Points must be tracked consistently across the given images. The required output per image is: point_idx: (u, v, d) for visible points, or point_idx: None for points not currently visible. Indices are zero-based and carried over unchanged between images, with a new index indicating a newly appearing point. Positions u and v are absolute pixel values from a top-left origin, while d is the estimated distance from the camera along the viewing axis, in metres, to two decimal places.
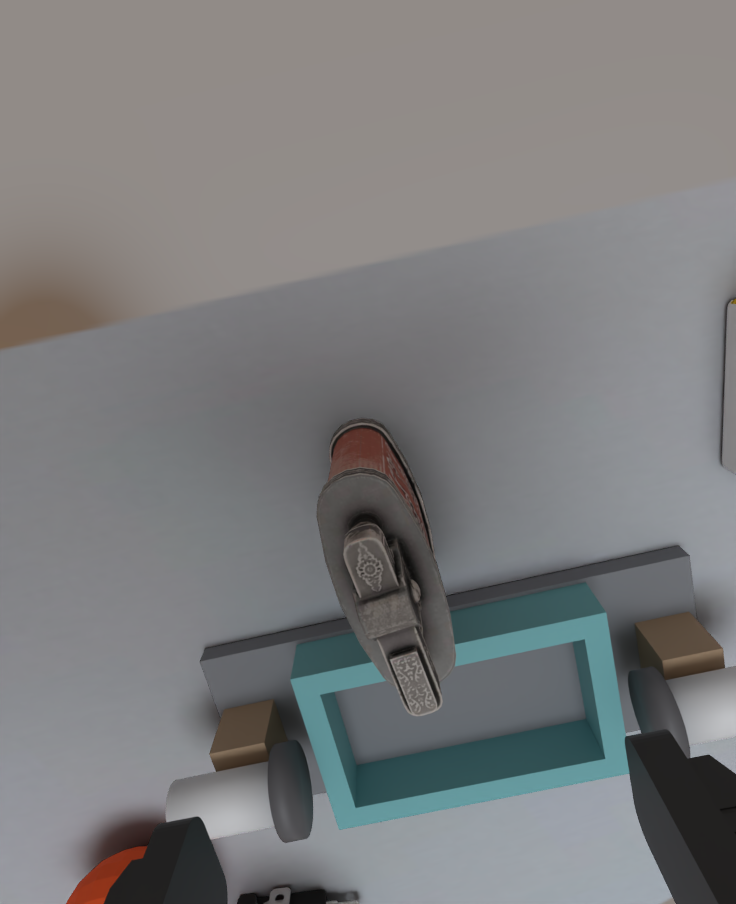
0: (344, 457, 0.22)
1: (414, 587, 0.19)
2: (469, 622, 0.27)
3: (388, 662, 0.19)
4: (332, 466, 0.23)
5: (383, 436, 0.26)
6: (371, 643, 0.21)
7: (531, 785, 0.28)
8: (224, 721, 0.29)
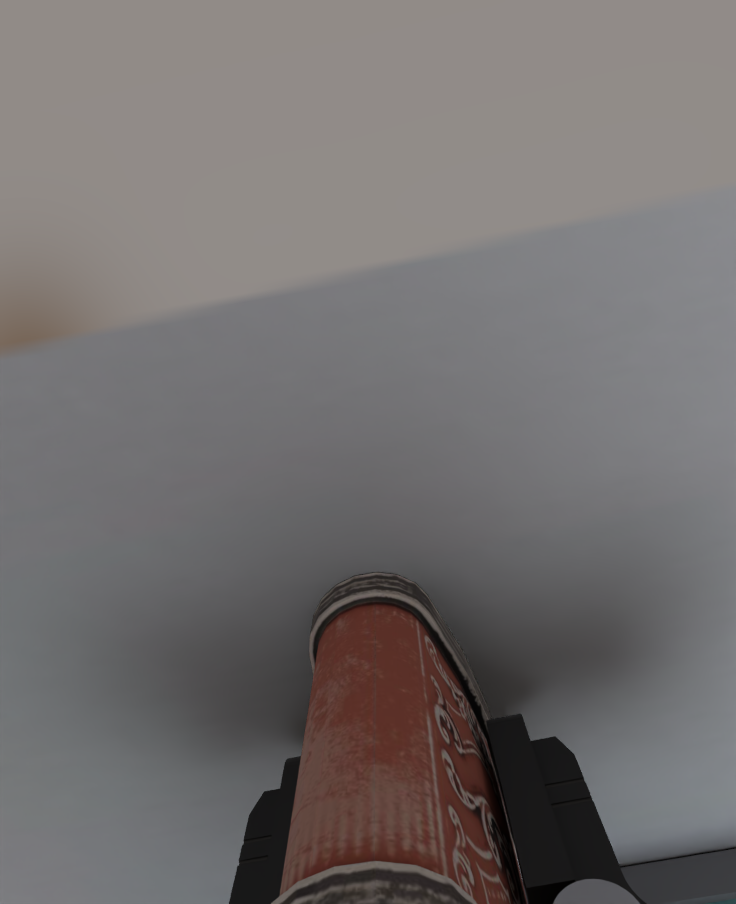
0: (335, 740, 0.09)
1: None
2: None
3: None
4: (307, 748, 0.10)
5: (420, 619, 0.13)
6: None
7: None
8: None
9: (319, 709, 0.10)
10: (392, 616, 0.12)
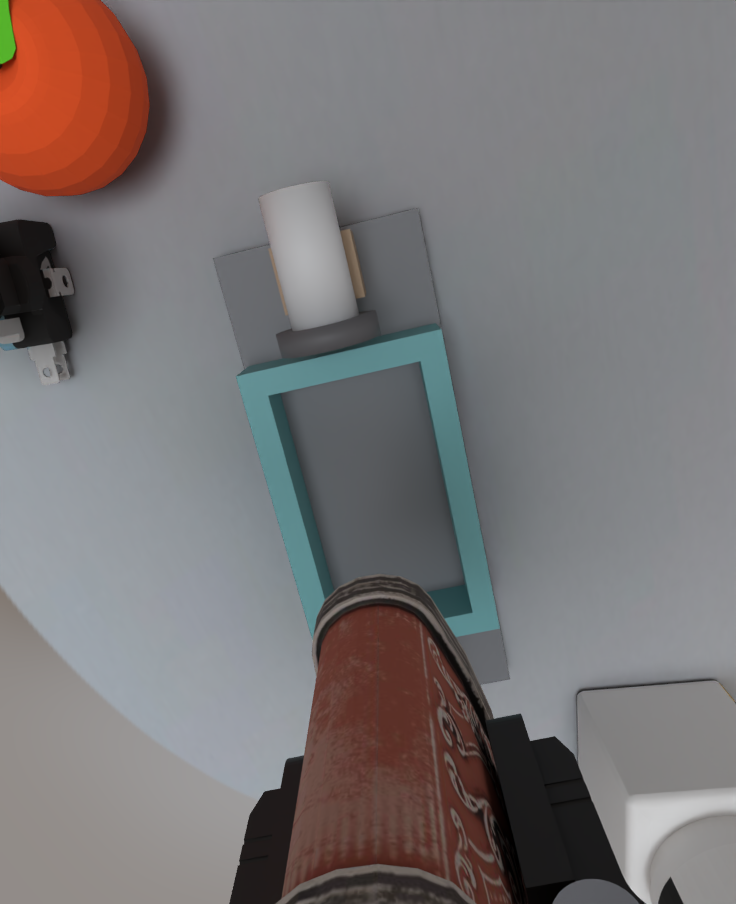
0: (337, 742, 0.09)
1: None
2: None
3: None
4: (309, 750, 0.10)
5: (423, 621, 0.13)
6: None
7: (302, 575, 0.27)
8: (353, 237, 0.24)
9: (322, 711, 0.10)
10: (395, 618, 0.12)
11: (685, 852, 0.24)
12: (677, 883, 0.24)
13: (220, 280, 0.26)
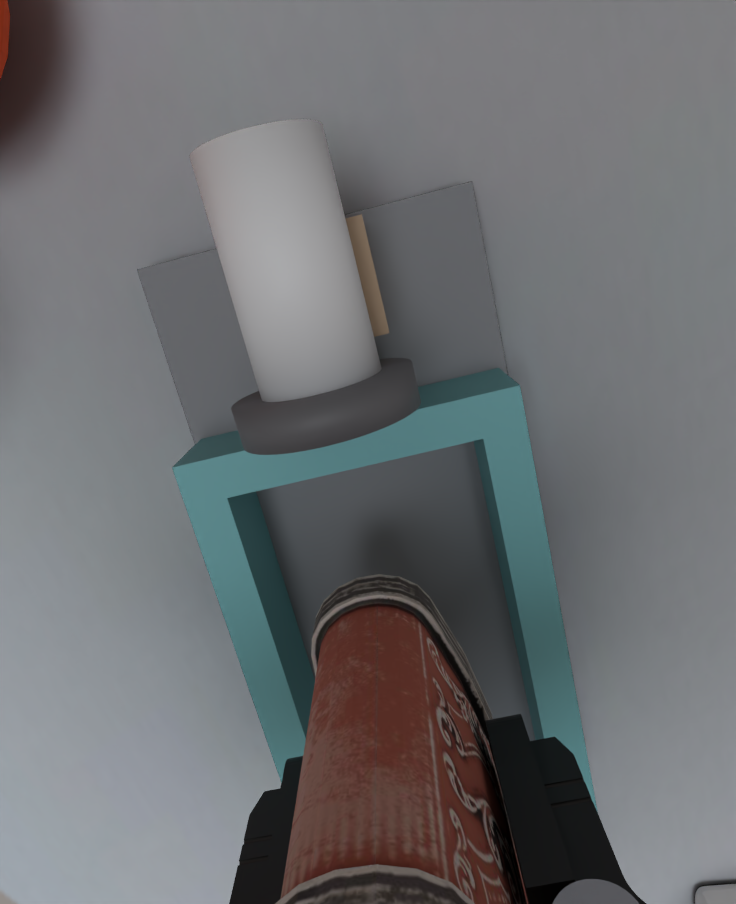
0: (336, 743, 0.09)
1: None
2: None
3: None
4: (308, 750, 0.10)
5: (422, 621, 0.13)
6: None
7: None
8: None
9: (321, 711, 0.10)
10: (394, 618, 0.12)
11: None
12: None
13: (151, 305, 0.16)
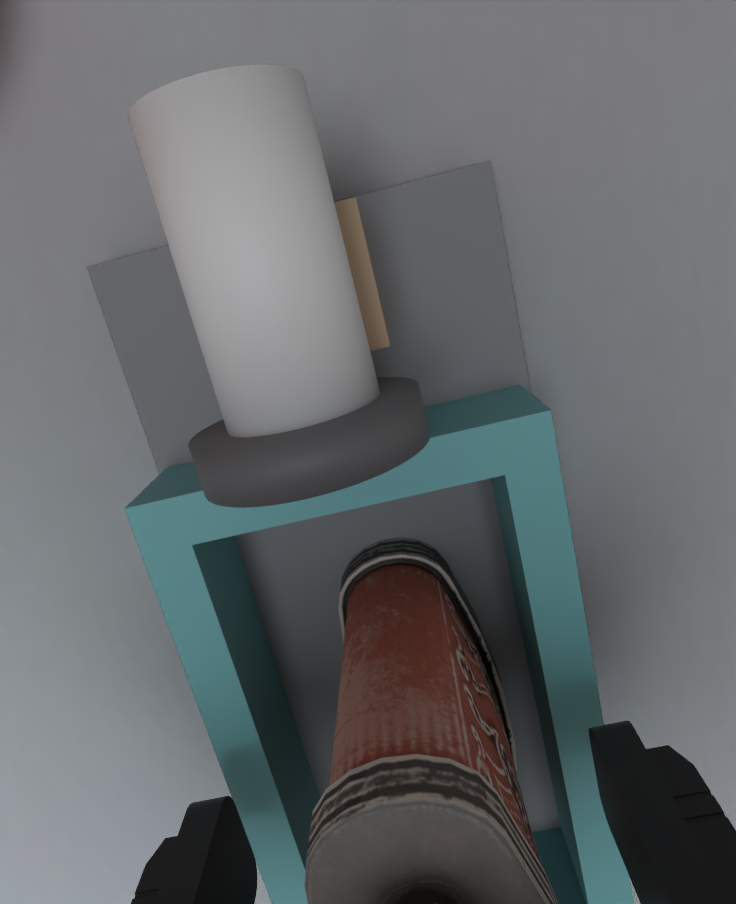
0: (372, 670, 0.10)
1: None
2: None
3: None
4: (345, 679, 0.11)
5: (440, 580, 0.14)
6: None
7: (272, 860, 0.14)
8: (361, 220, 0.12)
9: (354, 648, 0.12)
10: (416, 575, 0.13)
11: None
12: None
13: (105, 309, 0.13)
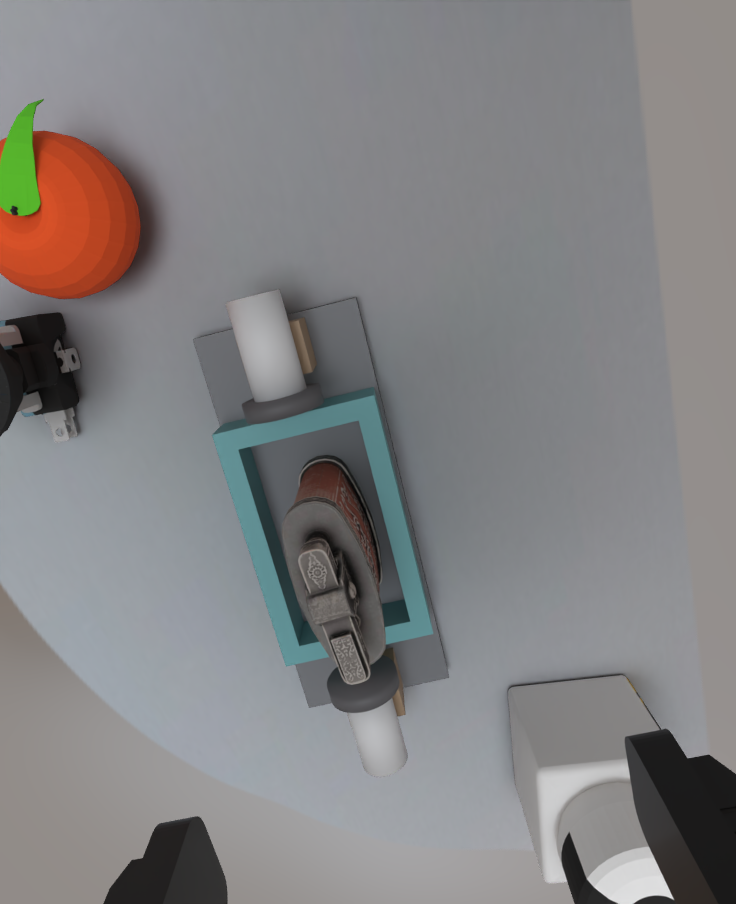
0: (307, 487, 0.29)
1: (351, 587, 0.25)
2: None
3: (330, 642, 0.25)
4: (297, 493, 0.30)
5: (341, 470, 0.33)
6: (321, 630, 0.28)
7: (270, 593, 0.33)
8: (303, 322, 0.31)
9: (302, 486, 0.30)
10: (330, 466, 0.32)
11: (581, 811, 0.30)
12: (573, 836, 0.30)
13: (199, 356, 0.32)
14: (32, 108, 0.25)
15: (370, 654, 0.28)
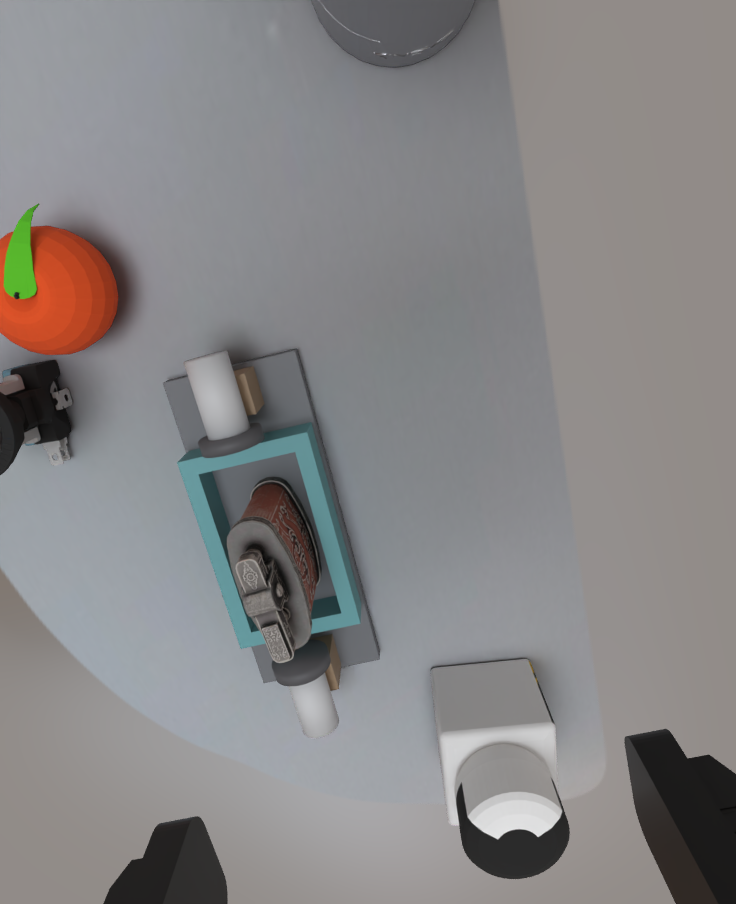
0: (251, 506, 0.36)
1: (278, 588, 0.33)
2: (340, 540, 0.41)
3: (261, 630, 0.33)
4: None
5: (285, 489, 0.40)
6: None
7: (226, 589, 0.40)
8: (251, 371, 0.38)
9: (249, 504, 0.38)
10: (275, 486, 0.39)
11: (471, 766, 0.38)
12: (463, 785, 0.37)
13: (168, 396, 0.39)
14: (30, 214, 0.32)
15: (298, 639, 0.35)
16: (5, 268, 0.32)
